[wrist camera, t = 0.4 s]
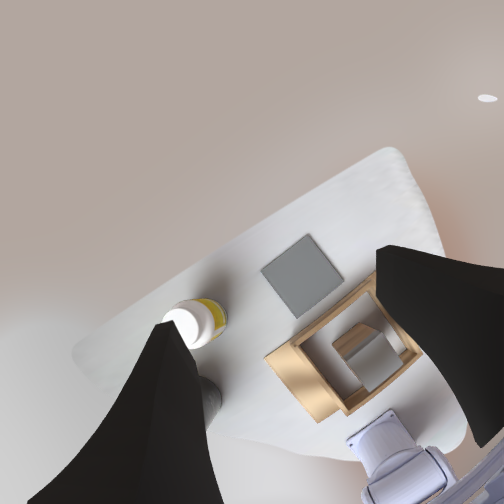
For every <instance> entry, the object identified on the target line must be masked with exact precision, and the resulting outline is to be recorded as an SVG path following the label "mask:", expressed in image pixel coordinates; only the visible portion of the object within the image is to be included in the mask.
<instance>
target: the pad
mask: <svg viewBox="0 0 504 504" xmlns="http://www.w3.org/2000/svg"><path fill="white" fill-rule="evenodd" d="M261 273H262V274H263V275H264V277H265V278H266V279H267V280H268V282H269V283H270V284H271V286H272V287H273V288H274V290H275V291H276V292H277V294H278V295H279V296H280V298H281V299H282V300H283V301H284V303H285V304H286V305H287V307H288V308H289V309H290V311H291V312H292V313H293V315H294V316H295V317H296V318H299V317H300V316H301V315H303V314H304V313H305V312H307V311H308V310H309V309H311V308H312V307H313V306H314V305H316V304H317V303H318V302H319V301H321V300H322V299H323V298H324V297H326V296H327V295H328V294H329V293H331V292H332V291H333V290H334V289H336V288H337V287H338V286H339V285H340V284H342V283H343V282H344V281H343V279H342V278H341V277H340V276H339V274H338V273H337V272H336V270H335V269H334V268H333V266H332V265H331V264H330V263H329V261H328V260H327V259H326V257H325V256H324V255H323V254H322V252H321V251H320V250H319V248H318V247H317V246H316V245H315V243H314V242H313V241H312V240H311V238H310V237H309V236H308V235H307V236H305V237H304V238H303V239H301V240H300V241H299V242H298V243H296V244H295V245H294V246H292V247H291V248H290V249H289V250H287V251H286V252H285V253H283V254H282V255H281V256H280V257H278V258H277V259H276V260H274V261H273V262H272V263H270V264H269V265H268V266H267V267H265V268H264V269H263V270H261Z"/></svg>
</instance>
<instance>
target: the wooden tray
mask: <svg viewBox="0 0 504 504" xmlns="http://www.w3.org/2000/svg"><path fill="white" fill-rule="evenodd" d="M366 291H367V292H368V293H369V295H370V296H371V297H372V299H373V300H374V301H375V303H376V304H377V306H378V307H379V309H380V310H381V311H382V313H383V314H384V316H385V317H386V319H387V320H388V321H389V323H390V324H391V326H392V327H393V329H394V330H395V332H396V333H397V335H398V336H399V338H400V339H401V341H402V342H403V344H404V345H405V347H406V348H407V349H406V350H405V351H404V352H403V353H402V354H401V355H400V356H399V358H400V359H401V361H402V362H403V365H402V366H401V367H400V368H399V369H397V370H396V371H395V372H394V373H393V374H392V375H390V376H389V377H388V378H387V379H386V380H385V381H383V382H382V383H381V384H380V385H378V386H377V387H376V388H375V389H373V390H372V391H371V392H370V393H369V391H368V390H367V389H366V388H365V387H364V386H363V387H361V388H360V389H359V390H357V391H356V392H355V393H353V394H352V395H351V396H349V397H348V398H347V399H345V400H344V401H343V400H342V399H341V397H340V396H339V395H338V394H337V392H336V391H335V390H334V389H333V387H332V386H331V385H330V383H329V382H328V381H327V380H326V378H325V377H324V376H323V375H322V373H321V372H320V371H319V370H318V368H317V367H316V366H315V364H314V363H313V362H312V361H311V359H310V358H309V357H308V355H307V354H306V353H305V352H304V350H303V349H302V348H301V346H300V344H301V343H302V342H304V341H305V340H306V339H308V338H309V337H310V336H312V335H313V334H314V333H316V332H317V331H318V330H320V329H321V328H322V327H323V326H325V325H326V324H327V323H329V322H330V321H331V320H332V319H334V318H335V317H336V316H337V315H339V314H340V313H341V312H342V311H343V310H345V309H346V308H347V307H348V306H350V305H351V304H352V303H353V302H354V301H355V300H357V299H358V298H359V297H360V296H361V295H363V294H364V293H365V292H366ZM422 355H423V353H422V351H421V350H420V348H419V346H418V344H417V343H416V342H415V341H414V340H413V339H412V338H411V337H410V336H409V335H408V334H407V333H406V332H405V331H404V330H403V329H402V328H401V327H400V326H399V325H398V324H397V323H396V322H395V321H394V319H393V318H392V317H391V316H390V315H389V314H388V312H387V311H386V310H385V309H384V307H383V306H382V304H381V303H380V302H379V300H378V299H377V297H376V271H374V272H373V273H372V274H371V275H370V276H369V277H368V278H367V279H365V280H364V281H363V282H362V283H361V284H360V285H358V286H357V287H356V288H355V289H354V290H353V291H351V292H350V293H349V294H348V295H347V296H345V297H344V298H343V299H342V300H340V301H339V302H338V303H337V304H336V305H334V306H333V307H332V308H331V309H329V310H328V311H327V312H326V313H324V314H323V315H322V316H321V317H319V318H318V319H317V320H315V321H314V322H313V323H311V324H310V325H309V326H308V327H306V328H305V329H304V330H302V331H301V332H300V333H298V334H297V335H296V336H294V337H293V338H291V339H290V340H289V341H287V342H286V343H285V344H283V345H282V346H280V347H279V348H278V349H276V350H275V351H273V352H272V353H271V354H269V355H268V356H266V357H265V358H264V359H265V361H266V362H267V363H268V365H269V366H270V367H271V368H272V370H273V371H274V372H275V373H276V375H277V376H278V377H279V378H280V379H281V381H282V382H283V383H284V384H285V386H286V387H287V388H288V389H289V390H290V392H291V393H292V394H293V395H294V397H295V398H296V399H297V400H298V401H299V402H300V404H301V405H302V406H303V407H304V408H305V410H306V411H307V412H308V413H309V414H310V415H311V417H312V418H313V419H314V420H315V421H316V422H317V424H318V423H320V422H321V421H323V420H324V419H326V418H327V417H329V416H330V415H332V414H333V413H335V412H336V411H338V410H339V409H341V410H342V411H343V413H344V414H345V415H346V416H349V415H350V414H352V413H353V412H355V411H356V410H357V409H359V408H360V407H361V406H363V405H364V404H365V403H367V402H368V401H369V400H371V399H372V398H373V397H375V396H376V395H377V394H378V393H380V392H381V391H382V390H383V389H385V388H386V387H387V386H388V385H389V384H391V383H392V382H393V381H394V380H395V379H396V378H398V377H399V376H400V375H401V374H402V373H403V372H404V371H406V370H407V369H408V368H409V367H410V366H411V365H412V364H413V363H414V362H415V361H416V360H417V359H418V358H420V357H421V356H422Z"/></svg>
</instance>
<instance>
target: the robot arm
mask: <svg viewBox="0 0 504 504" xmlns="http://www.w3.org/2000/svg"><path fill="white" fill-rule="evenodd" d="M376 297H377V299H378V300H379V302H380V303H381V304H382V306H383V307H384V309H385V310H386V311H387V312H388V314H389V315H390V316H391V317H392V318H393V319H394V321H395V322H396V323H397V324H398V325H399V326H400V327H401V328H402V329H403V330H404V331H405V332H406V333H407V334H408V335H409V336H410V337H411V338H412V339H413V340H414V341H415V342H416V343H417V344H418V345H419V346H420V348H421V349H422V350H423V351H424V352H425V353H426V354H427V355H428V356H429V357H430V359H431V360H432V361H433V362H434V364H435V365H436V367H437V368H438V369H439V371H440V372H441V374H442V375H443V377H444V378H445V380H446V381H447V383H448V385H449V386H450V388H451V389H452V391H453V393H454V394H455V396H456V398H457V400H458V402H459V404H460V406H461V408H462V410H463V412H464V414H465V416H466V418H467V421H468V423H469V425H470V428H471V430H472V433H473V436H474V439H475V442H476V443H477V444H478V445H479V447H480V448H482V447H484V446H485V445H486V444H487V443H488V442H489V441H490V440H491V439H492V438H493V437H494V436H495V435H496V434H497V433H498V432H499V431H500V430H501V429H502V428H503V427H504V269H503V268H494V267H488V266H481V265H476V264H470V263H466V262H462V261H457V260H453V259H449V258H445V257H441V256H437V255H433V254H429V253H425V252H421V251H417V250H413V249H409V248H405V247H400V246H394V245H388V246H385V247H383V248H380V249H377V250H376ZM392 414H393V415H392ZM391 415H392V416H391ZM350 444H352V445H350ZM346 445H347V446H348V447H349V448H350V450H351V451H352V452H353V453H354V454H355V455H356V456H357V457H358V458H359V459H360V461H361V462H362V463H363V465H364V468H365V470H366V472H367V475H368V477H369V478H368V479H367V482H368V485H369V486H366V487H364V488H363V491H362V493H361V498H362V501H363V504H420V503H422V502H423V501H424V500H426V499H428V498H429V497H431V496H432V495H433V494H435V493H436V492H438V491H439V490H440V489H442V488H443V487H444V488H443V490H442V492H441V493H440V494H439V495H438V496H436V497H435V498H434V499H432V500H431V501H429V502H428V503H426V504H462V503H463V502H465V501H466V500H467V499H468V498H469V497H471V496H472V495H473V494H474V493H475V492H476V491H477V490H478V489H480V488H481V487H482V486H483V485H484V484H485V483H486V482H487V483H486V484H485V486H484V488H485V491H483V492H482V493H481V494H480V495H479V496H477V497H476V498H475V499H474V500H473V501H471V502H470V503H469V504H504V438H503V439H502V440H501V441H500V442H499V443H498V444H497V445H496V446H495V447H494V448H493V449H492V450H491V452H489V453H488V455H487V456H485V457H484V458H483V459H482V460H481V461H480V462H479V463H478V464H477V465H476V466H475V467H474V468H473V469H472V470H470V471H469V472H468V473H467V474H466V475H465V476H464V477H462V478H461V479H460V480H458V478H457V476H456V475H455V473H454V470H453V468H452V466H451V464H450V463H449V461H448V460H447V458H446V457H445V456H444V454H443V453H442V452H441V451H440V450H439V449H438V448H437V447H435V446H428V447H426V448H425V451H424V449H423V448H422V447H421V446H420V445H419V446H417V445H416V443H415V441H414V440H413V438H412V437H411V436H410V434H409V433H408V431H407V430H406V428H405V427H404V426H403V424H402V423H401V421H400V420H399V419H398V417H397V416H396V415H395V413H394V412H393V411H392V410H389V411H387V412H386V413H385V414H383V415H382V416H381V417H380V418H378V419H377V420H376V421H374V422H373V423H371V424H370V425H369V426H367V427H366V428H365V429H363V430H362V431H360V432H359V433H357V434H356V435H354V436H353V437H351V438H350V439H348V440H347V441H346ZM27 504H224V502H223V499H222V496H221V493H220V491H219V487H218V484H217V481H216V478H215V475H214V471H213V467H212V463H211V460H210V456H209V450H208V445H207V437H206V428H205V420H204V410H203V401H202V392H201V385H200V381H199V376H198V372H197V367H196V363H195V361H194V359H193V357H192V355H191V353H190V351H189V350H188V348H187V346H186V344H185V342H184V340H183V338H182V337H181V335H180V333H179V331H178V329H177V327H176V325H175V323H174V321H173V320H170V321H167V322H164V323H160V324H157V325H155V327H154V329H153V330H152V332H151V334H150V336H149V338H148V340H147V342H146V344H145V346H144V348H143V350H142V353H141V355H140V357H139V359H138V361H137V363H136V364H135V366H134V368H133V370H132V372H131V374H130V376H129V378H128V380H127V381H126V383H125V385H124V387H123V389H122V390H121V392H120V394H119V396H118V398H117V399H116V401H115V403H114V404H113V406H112V408H111V409H110V411H109V412H108V414H107V415H106V417H105V418H104V420H103V421H102V423H101V424H100V426H99V427H98V429H97V430H96V431H95V433H94V434H93V435H92V436H91V438H90V439H89V440H88V442H87V443H86V444H85V445H84V447H83V448H82V449H81V450H80V452H79V453H78V454H77V455H76V456H75V458H74V459H73V460H72V461H71V462H70V463H69V464H68V465H67V466H66V467H65V468H64V469H63V470H62V471H61V473H59V474H58V475H57V477H55V478H54V479H53V480H52V481H51V482H50V483H49V484H48V485H46V486H45V487H44V488H43V489H42V490H40V491H39V492H38V493H37V494H36V495H34V496H33V497H32V498H31V499H29V500H28V502H27Z"/></svg>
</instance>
